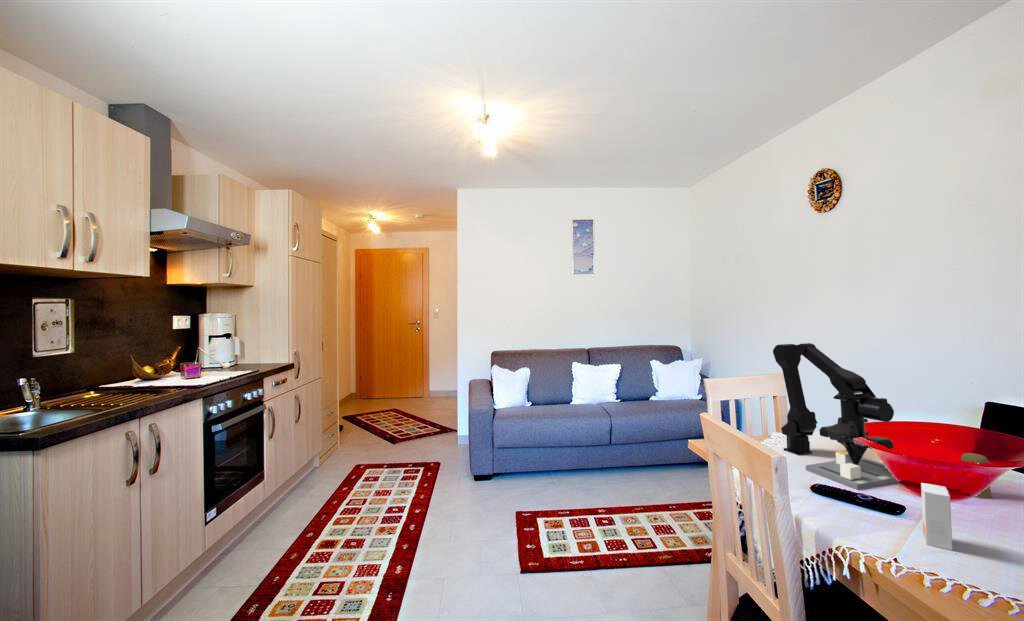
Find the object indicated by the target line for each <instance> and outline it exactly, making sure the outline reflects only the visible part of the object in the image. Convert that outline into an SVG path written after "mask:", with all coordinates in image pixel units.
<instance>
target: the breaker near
mask: <svg viewBox="0 0 1024 621" xmlns="http://www.w3.org/2000/svg"><path fill="white" fill-rule="evenodd" d="M840 476H841V477H844V478H847V479H850V480H853V479H859V478H861V468H860V466H858V465H855V464H852V463H847V464H840Z"/></svg>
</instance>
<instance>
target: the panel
mask: <svg viewBox="0 0 1024 621" xmlns="http://www.w3.org/2000/svg"><path fill="white" fill-rule="evenodd" d="M858 466H860V468H861V478H859V479H853V480H850V479H847V478H844V477H841V476H840V464H837V463H836V460H831V461H824V462H818V463H813V464H812V463H811V464H806V465H805V471H807V472H810V473H813V474H815V475H818V476H820V477H823V478H825V479H828V480H831V481H833V482H835V483H837V484H841V485H844V486H846V487H849V488H852V489H854V490H857V491H859V490H863V489H864V490H865V489H868V488H869V489H870V488H875V487H881V486H884V485H890V484H896V483H899V482H898V481H897V480H896V479H895V478H894V477H893V476H892V474H891V473H890V472H889V471H888V470H887V469H884V462H879V461H877V460H873V459H870V458H868V457H865V456H864V457H863V456H862V458H861V460H860V462H859V464H858Z"/></svg>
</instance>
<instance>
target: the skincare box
mask: <svg viewBox="0 0 1024 621" xmlns="http://www.w3.org/2000/svg"><path fill="white" fill-rule="evenodd" d="M920 489H921V490H920V491H921V492H920V493H921V514H922V515H921V516H922V534H923V537H924V540H925V545H927V546H931V547H935V548H939V549H942V550H943V549H944V550H947V551H948V550H949V551H953V534H952V533H953V530H952V510H951V495H950V492H949V490H948V489H947V487H946V486H942V485H937V484H931V483H924V482H921V483H920Z"/></svg>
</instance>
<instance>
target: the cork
mask: <svg viewBox="0 0 1024 621" xmlns="http://www.w3.org/2000/svg"><path fill="white" fill-rule="evenodd" d="M960 458H961V462H962V461H965V462H976V463H989V464H990V461H989V459H988V458H987V457H986V456H985V455H982V454H978V453H974V452H973V453H972V452H965V453H963V454H962V455H961V457H960ZM974 498H977V499H983V500H984V499H986V500H987V499H988V500H989V499H992V498H993V495H992V490H991V486H989V487H988V488H987V489H985V490H984V491H982V492H981V493H980V494H978V495H977V496H975V497H974Z"/></svg>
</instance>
